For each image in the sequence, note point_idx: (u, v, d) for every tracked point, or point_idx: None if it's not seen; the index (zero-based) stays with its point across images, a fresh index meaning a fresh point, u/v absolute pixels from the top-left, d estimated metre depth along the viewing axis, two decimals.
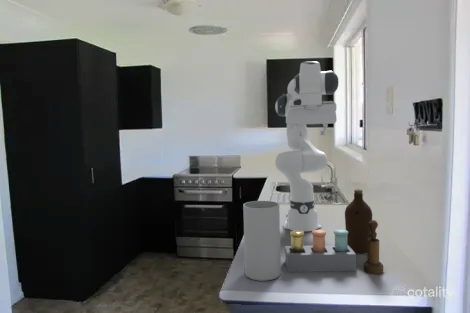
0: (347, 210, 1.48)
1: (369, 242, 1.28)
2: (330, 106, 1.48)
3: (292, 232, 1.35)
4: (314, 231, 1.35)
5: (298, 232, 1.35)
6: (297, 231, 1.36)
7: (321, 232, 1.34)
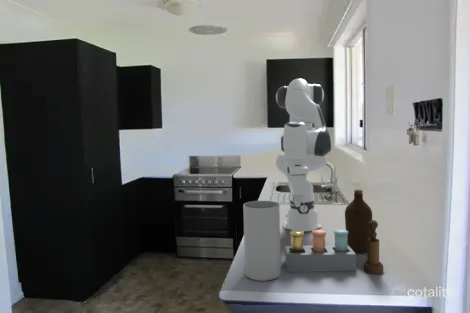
0: (347, 210, 1.48)
1: (369, 242, 1.28)
2: None
3: (292, 232, 1.35)
4: (314, 231, 1.35)
5: (298, 232, 1.35)
6: (297, 231, 1.36)
7: (321, 232, 1.34)
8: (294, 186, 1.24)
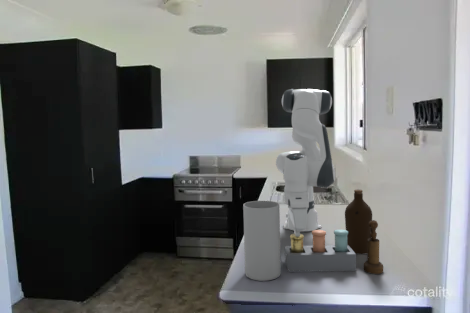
0: (347, 210, 1.48)
1: (369, 242, 1.28)
2: None
3: (292, 235, 1.35)
4: (314, 231, 1.35)
5: None
6: None
7: (321, 232, 1.34)
8: (295, 220, 1.25)
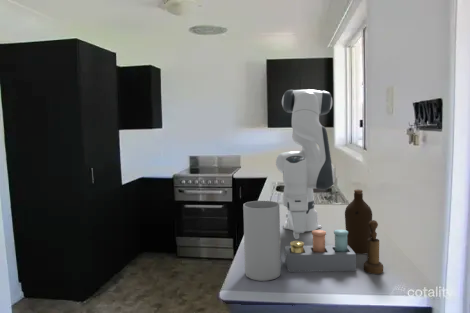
0: (347, 210, 1.48)
1: (369, 242, 1.28)
2: None
3: (292, 243, 1.35)
4: (314, 231, 1.35)
5: (298, 243, 1.35)
6: (297, 241, 1.37)
7: (321, 232, 1.34)
8: (294, 223, 1.25)
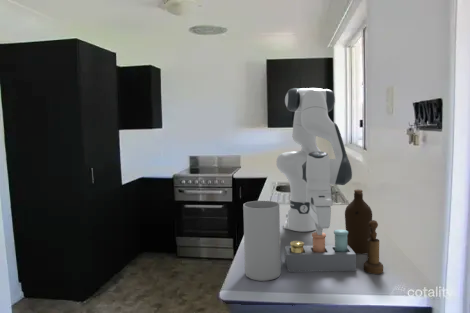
0: (347, 210, 1.48)
1: (369, 242, 1.28)
2: None
3: (292, 243, 1.35)
4: (314, 233, 1.35)
5: (298, 243, 1.35)
6: (297, 241, 1.37)
7: None
8: (319, 218, 1.24)
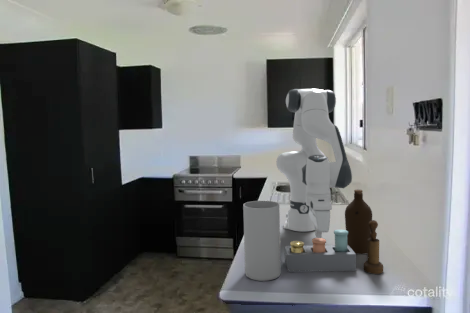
0: (347, 210, 1.48)
1: (369, 242, 1.28)
2: None
3: (292, 243, 1.35)
4: (314, 239, 1.36)
5: (298, 243, 1.35)
6: (297, 241, 1.37)
7: (321, 240, 1.34)
8: (318, 222, 1.25)
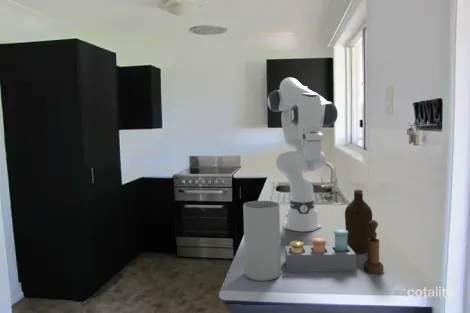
0: (347, 210, 1.48)
1: (369, 242, 1.28)
2: None
3: (292, 243, 1.35)
4: (314, 239, 1.36)
5: (298, 243, 1.35)
6: (297, 241, 1.37)
7: (321, 240, 1.34)
8: (310, 151, 1.33)
